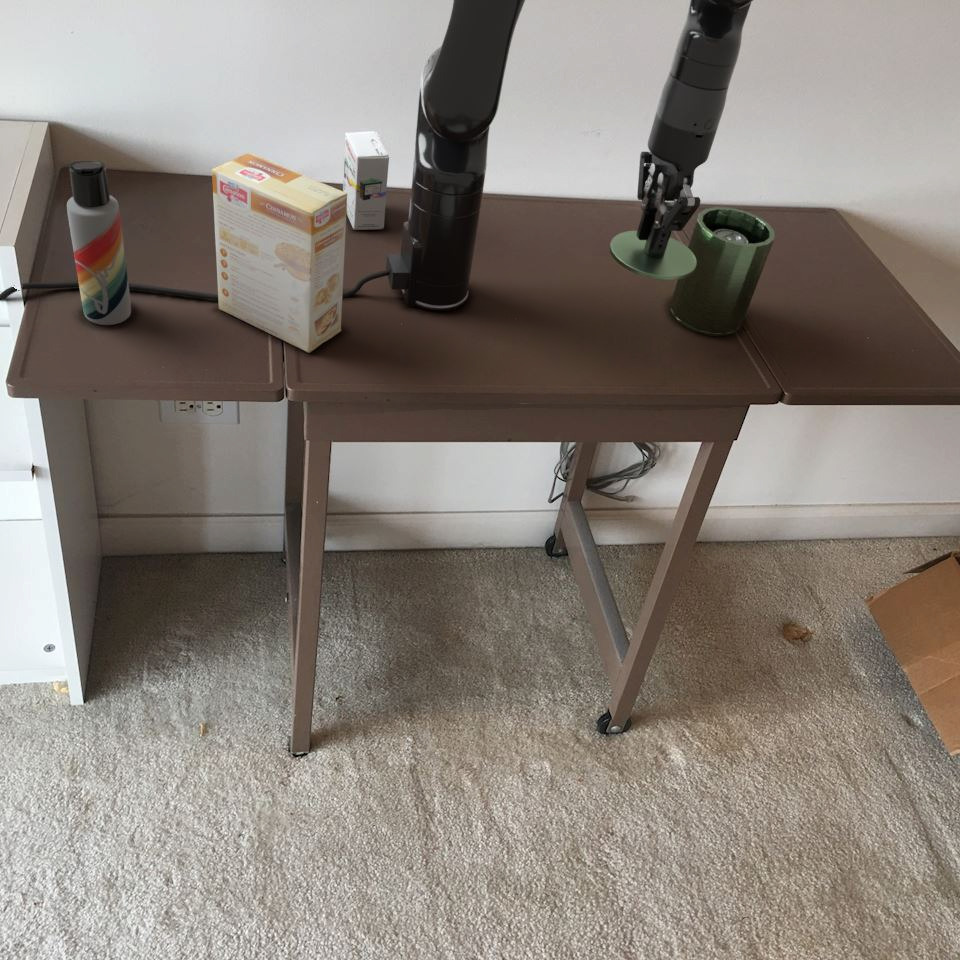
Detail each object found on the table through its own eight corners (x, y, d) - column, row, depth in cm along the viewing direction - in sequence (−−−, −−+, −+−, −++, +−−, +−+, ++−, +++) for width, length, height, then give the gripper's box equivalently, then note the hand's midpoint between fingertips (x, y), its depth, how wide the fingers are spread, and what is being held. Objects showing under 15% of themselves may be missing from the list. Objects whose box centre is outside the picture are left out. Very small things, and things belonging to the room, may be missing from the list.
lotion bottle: (83, 327, 120) (58, 174, 107) (84, 301, 124) (60, 151, 111) (132, 325, 122) (113, 175, 108) (131, 300, 126) (113, 152, 112)
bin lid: (644, 290, 123) (658, 244, 119) (591, 245, 130) (602, 199, 125) (711, 276, 129) (727, 231, 124) (657, 233, 135) (670, 189, 131)
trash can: (701, 342, 137) (733, 251, 127) (655, 302, 143) (682, 212, 134) (755, 328, 142) (790, 239, 132) (708, 290, 148) (738, 202, 138)
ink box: (340, 203, 152) (344, 129, 144) (371, 202, 154) (376, 130, 146) (352, 230, 146) (356, 156, 138) (384, 229, 148) (390, 155, 140)
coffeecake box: (342, 330, 127) (350, 192, 114) (308, 355, 122) (312, 213, 109) (253, 287, 132) (249, 149, 118) (216, 309, 127) (209, 168, 114)
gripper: (637, 90, 119) (603, 218, 131) (683, 141, 110) (643, 274, 122) (691, 93, 122) (654, 218, 133) (742, 143, 112) (697, 274, 124)
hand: (649, 245), depth 127 cm, fingers closed on bin lid, 3 cm apart
